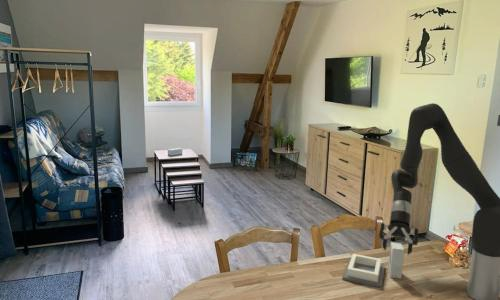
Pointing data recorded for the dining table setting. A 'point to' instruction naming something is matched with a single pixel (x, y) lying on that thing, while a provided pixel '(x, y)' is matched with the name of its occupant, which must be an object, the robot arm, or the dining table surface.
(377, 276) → the socket plate
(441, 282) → the dining table surface
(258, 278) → the dining table surface
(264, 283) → the dining table surface
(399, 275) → the skincare box
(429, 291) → the dining table surface
